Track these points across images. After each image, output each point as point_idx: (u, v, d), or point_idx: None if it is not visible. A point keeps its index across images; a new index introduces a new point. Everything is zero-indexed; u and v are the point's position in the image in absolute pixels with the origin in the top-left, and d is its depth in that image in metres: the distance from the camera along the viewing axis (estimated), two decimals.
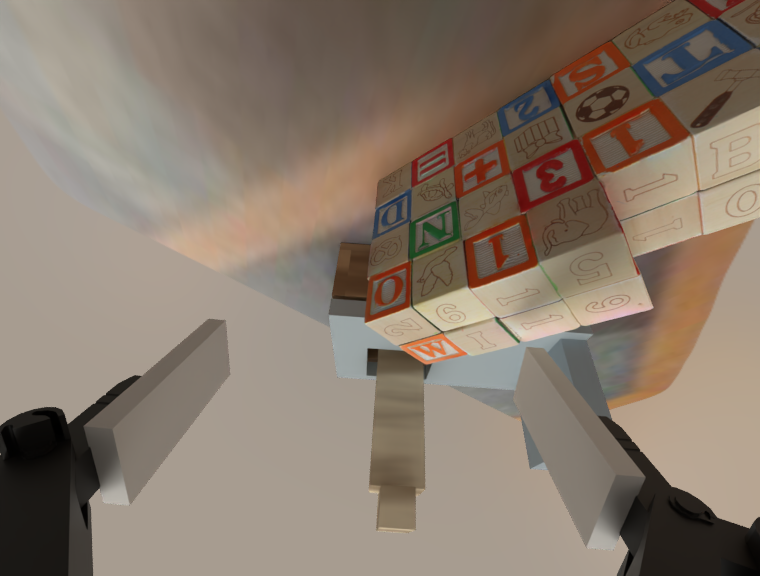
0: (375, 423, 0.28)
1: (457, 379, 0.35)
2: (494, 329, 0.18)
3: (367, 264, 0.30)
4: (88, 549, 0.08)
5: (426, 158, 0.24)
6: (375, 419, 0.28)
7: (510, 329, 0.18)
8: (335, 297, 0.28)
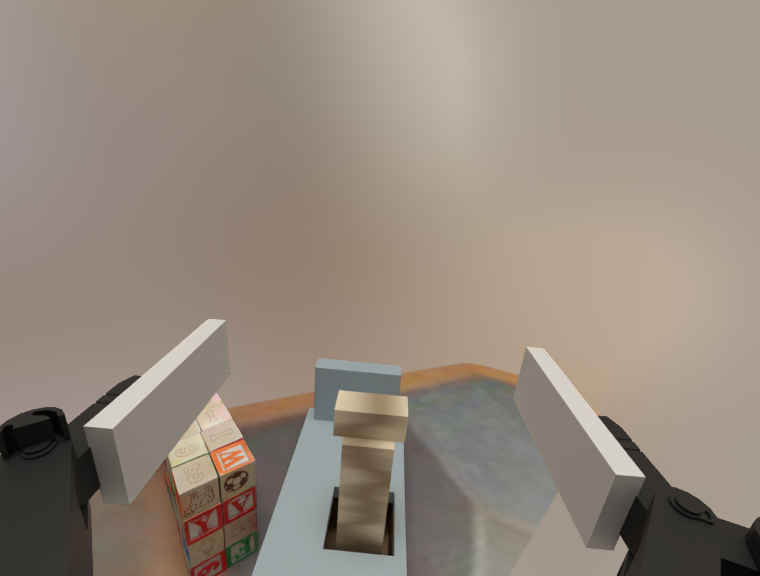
0: None
1: None
2: (209, 430, 0.35)
3: None
4: (88, 549, 0.08)
5: None
6: (339, 488, 0.29)
7: (216, 425, 0.35)
8: None
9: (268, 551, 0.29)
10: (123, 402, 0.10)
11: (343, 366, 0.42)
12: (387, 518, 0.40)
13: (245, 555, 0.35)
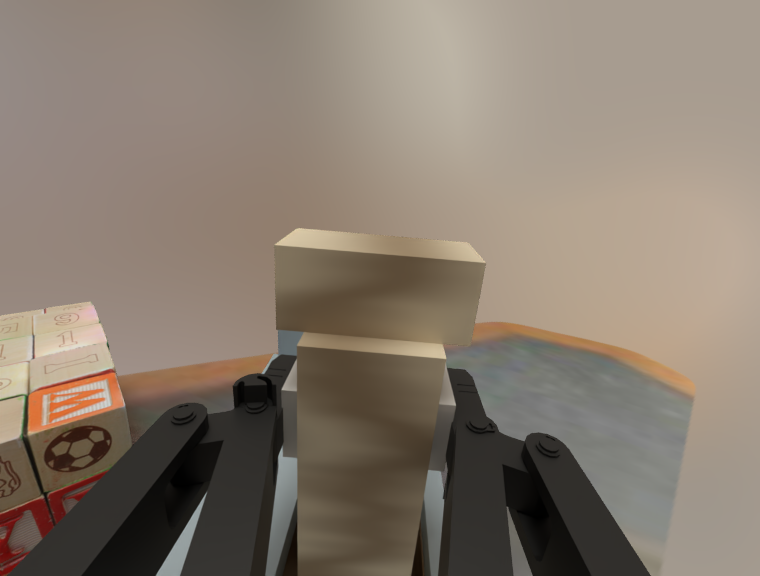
0: None
1: None
2: (49, 357, 0.18)
3: None
4: (271, 504, 0.10)
5: None
6: (297, 472, 0.11)
7: (69, 351, 0.18)
8: None
9: None
10: None
11: None
12: None
13: None
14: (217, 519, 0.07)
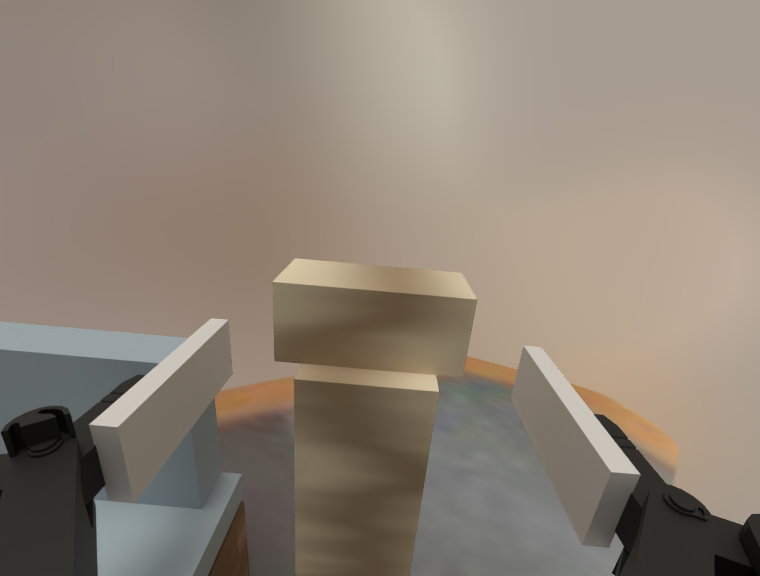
0: None
1: None
2: None
3: None
4: (93, 547, 0.08)
5: None
6: (295, 497, 0.11)
7: None
8: None
9: None
10: (128, 401, 0.10)
11: (23, 339, 0.14)
12: None
13: None
14: None
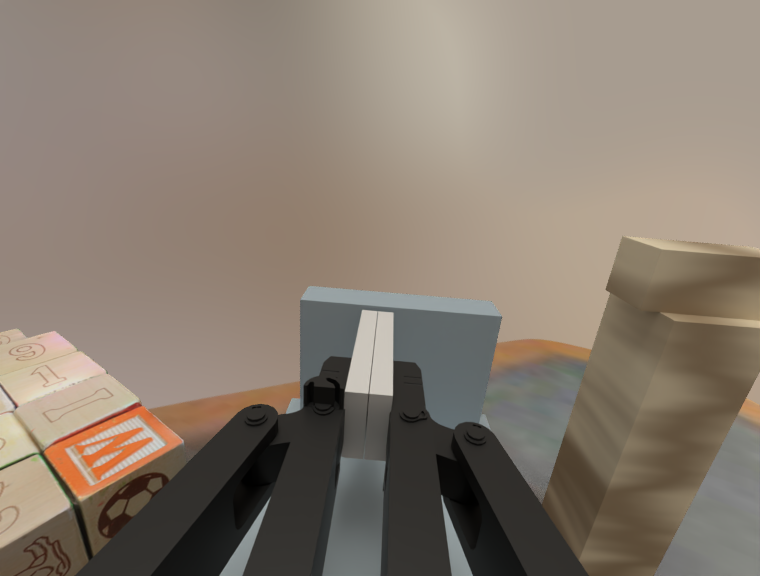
0: (636, 412, 0.15)
1: None
2: (41, 402, 0.14)
3: None
4: (331, 508, 0.10)
5: None
6: (632, 418, 0.15)
7: (61, 390, 0.14)
8: None
9: None
10: (358, 374, 0.12)
11: (365, 299, 0.18)
12: None
13: None
14: (282, 517, 0.07)
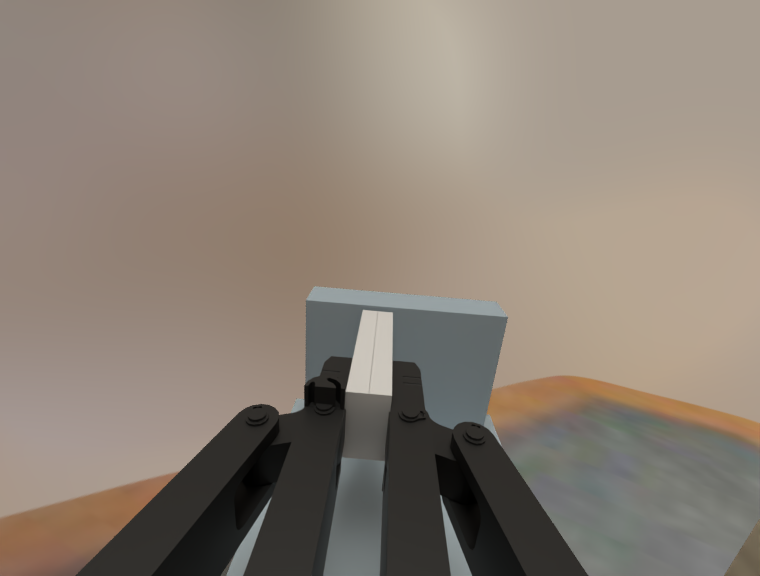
0: None
1: None
2: None
3: None
4: (332, 508, 0.10)
5: None
6: None
7: None
8: None
9: None
10: (358, 374, 0.12)
11: (371, 299, 0.18)
12: None
13: None
14: (283, 517, 0.07)
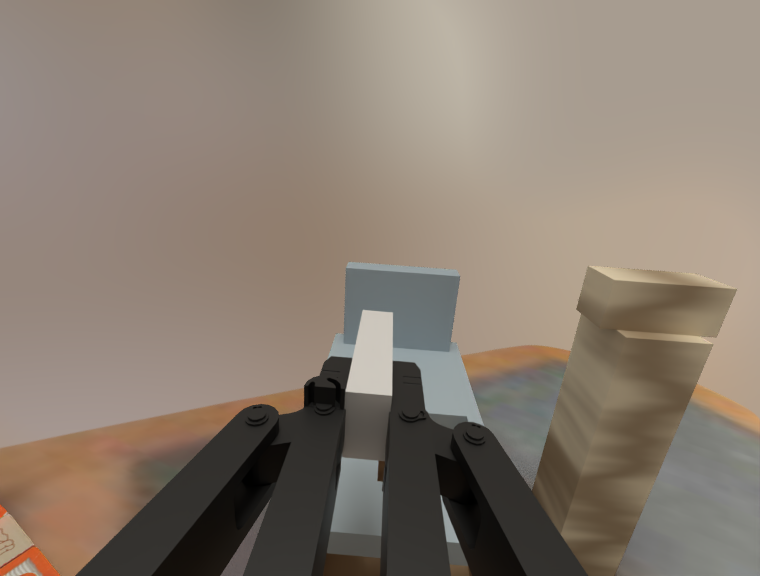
0: (600, 411, 0.18)
1: (452, 389, 0.28)
2: None
3: None
4: (332, 508, 0.10)
5: None
6: (597, 416, 0.18)
7: None
8: None
9: None
10: (358, 374, 0.12)
11: (382, 268, 0.32)
12: None
13: None
14: (282, 517, 0.07)
